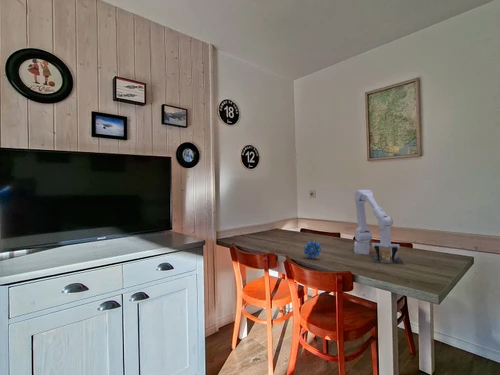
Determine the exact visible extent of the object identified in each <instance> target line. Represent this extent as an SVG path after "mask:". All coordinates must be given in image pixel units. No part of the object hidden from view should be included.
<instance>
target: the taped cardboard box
mask: <svg viewBox="0 0 500 375" xmlns="http://www.w3.org/2000/svg"><path fill="white" fill-rule="evenodd" d="M380 253H381V257H382V260H385V261H390V259H391V252H388V251H381V252H380Z"/></svg>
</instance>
